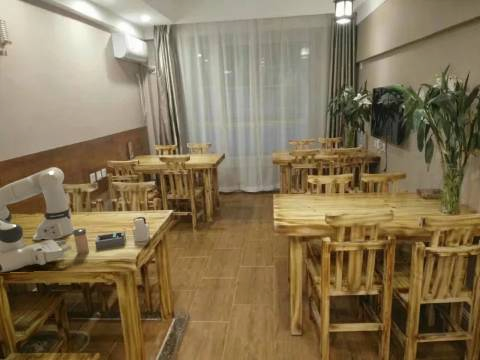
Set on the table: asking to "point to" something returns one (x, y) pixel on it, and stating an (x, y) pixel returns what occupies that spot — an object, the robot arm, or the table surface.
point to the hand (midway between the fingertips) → (68, 244)
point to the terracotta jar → (81, 241)
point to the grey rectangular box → (110, 240)
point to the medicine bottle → (141, 230)
